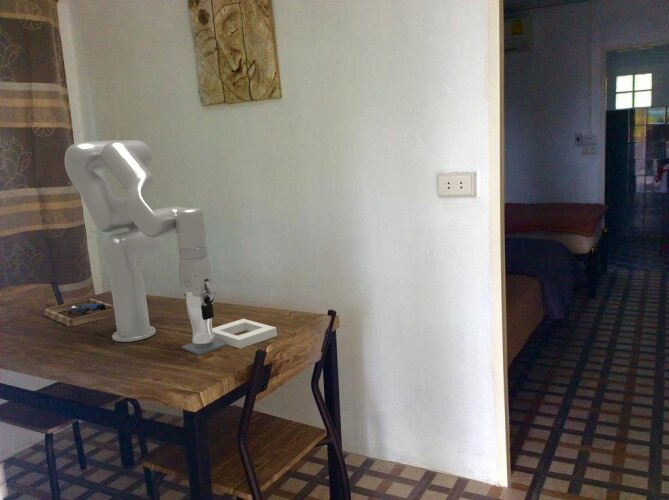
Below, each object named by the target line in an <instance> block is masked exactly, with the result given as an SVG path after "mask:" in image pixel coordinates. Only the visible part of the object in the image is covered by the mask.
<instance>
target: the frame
mask: <svg viewBox="0 0 669 500" xmlns="http://www.w3.org/2000/svg"><path fill="white" fill-rule="evenodd" d="M98 303H103V304H104V305H105V308H106V310H105V311H104V310H101V311H97V312H93V313H90V314H84V315H83V316H81V315H80V316H81V317H80V316H76V317H73V318H70V317H69V316H66V315H63V314H61V313H64V312H63V311H66V312H68V308H72V306H75V307H76V308H78V305H89V304H94V305H95V304H98ZM59 312H61V313H59ZM43 315H44V317H46V316H47V317H46V318H48V317H49V318H48V319H50V318H51V320H53V321H55V320H56V321H55V322H57V321H58V322H57V323H59V322H61V323H60V324H62V323H63V324H62V325H64V324H65V325H64V326H66V325H67V327H69V326H70V327H69V328H73V327H72V326H74V327H77V326H76V325H78V326H81V325H80V324H82V325H85V324H84V323H86V324H89V323H93V322H96V320H97V321H100V320H104V319H108V318H111V317H115V313H114V306H113V304H109V303H107V302H103V301H100V300H97V299H93V298H90V297H89V298H85V299H81V300H77V301H73V302H72V301H71V302H69V303H64V304H60V305H59V304H58V305H55V306H51V307H45V308H43ZM92 321H93V322H92ZM88 322H89V323H88Z"/></svg>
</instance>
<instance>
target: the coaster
mask: <svg viewBox="0 0 669 500" xmlns="http://www.w3.org/2000/svg"><path fill="white" fill-rule="evenodd" d="M227 346H228V345H227V343H224V342H221V341H218V340H214V341H213V342H211V343H208V344H201V345H198V344H194V343H193V342H191V343H188V344H185V345H182V346H181V349H182V350H185V351H188V352H191V353H193V354H196V355H199V356H200V355H203V354H206V353H208V352H212V351H215V350H218V349H221V348H224V347H227Z"/></svg>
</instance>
